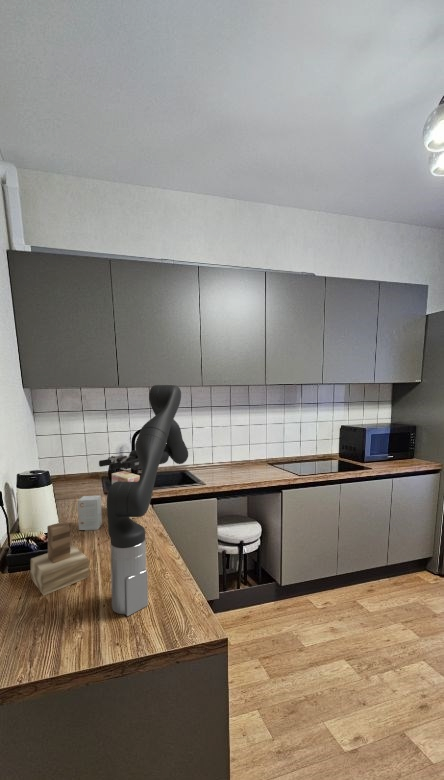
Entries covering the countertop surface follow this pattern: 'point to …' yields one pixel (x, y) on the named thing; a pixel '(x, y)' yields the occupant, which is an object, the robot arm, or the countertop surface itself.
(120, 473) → the coffeecake box
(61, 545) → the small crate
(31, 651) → the countertop surface
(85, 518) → the small box
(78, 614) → the countertop surface
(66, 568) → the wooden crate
